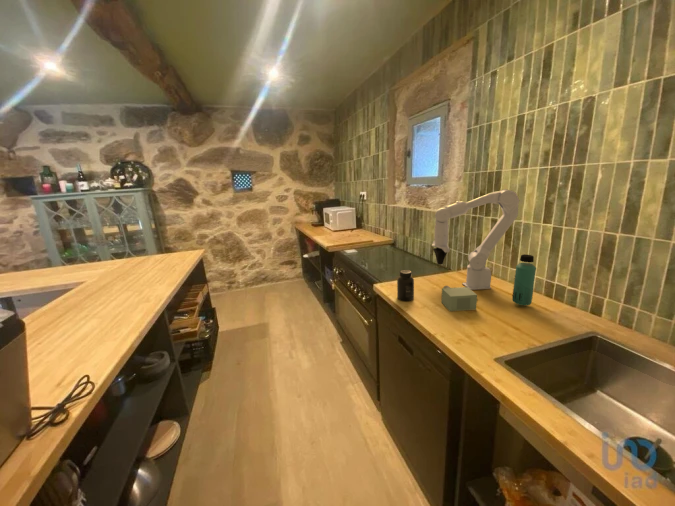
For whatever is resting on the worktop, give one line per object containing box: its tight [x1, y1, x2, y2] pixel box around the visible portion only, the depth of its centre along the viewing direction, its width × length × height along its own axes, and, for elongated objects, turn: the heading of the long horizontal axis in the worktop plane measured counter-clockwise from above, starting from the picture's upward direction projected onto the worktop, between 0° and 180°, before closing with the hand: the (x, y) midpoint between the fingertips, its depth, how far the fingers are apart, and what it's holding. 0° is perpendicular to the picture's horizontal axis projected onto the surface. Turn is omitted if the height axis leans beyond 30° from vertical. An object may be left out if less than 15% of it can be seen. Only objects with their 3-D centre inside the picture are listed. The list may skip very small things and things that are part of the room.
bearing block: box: [440, 286, 478, 312], centre depth 108 cm, size 10×8×6 cm
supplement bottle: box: [396, 269, 415, 302], centre depth 116 cm, size 7×7×12 cm
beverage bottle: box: [511, 254, 537, 306], centre depth 104 cm, size 6×7×20 cm
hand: (439, 263), depth 129 cm, fingers closed
